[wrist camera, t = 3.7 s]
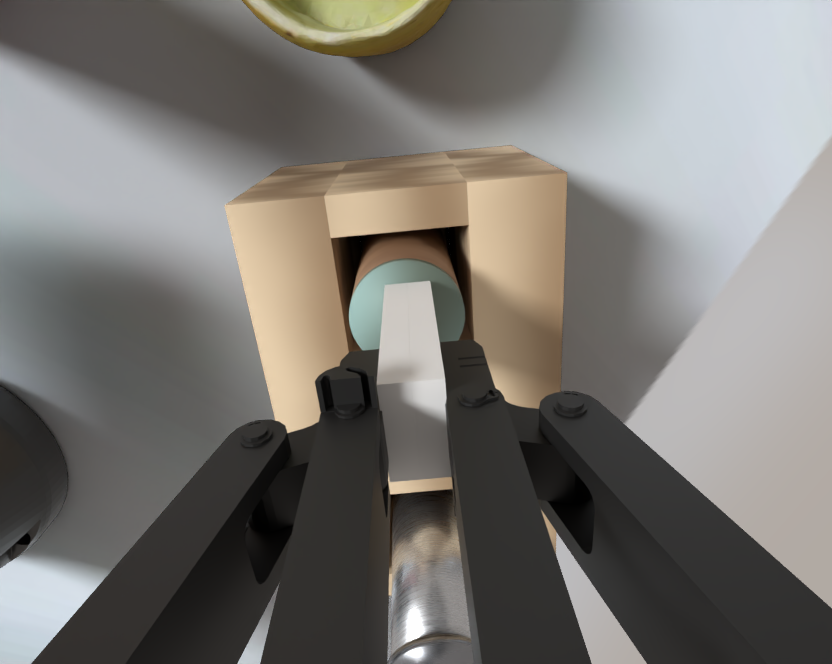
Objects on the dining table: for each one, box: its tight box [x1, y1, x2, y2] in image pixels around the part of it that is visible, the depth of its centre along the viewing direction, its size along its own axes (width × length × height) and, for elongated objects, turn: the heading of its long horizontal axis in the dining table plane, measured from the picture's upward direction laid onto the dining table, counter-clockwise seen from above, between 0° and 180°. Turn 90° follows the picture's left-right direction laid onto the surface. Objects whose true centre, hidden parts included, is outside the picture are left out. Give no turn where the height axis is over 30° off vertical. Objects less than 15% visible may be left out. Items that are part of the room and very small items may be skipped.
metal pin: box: [387, 489, 474, 664], centre depth 23 cm, size 4×4×9 cm
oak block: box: [224, 145, 567, 596], centre depth 27 cm, size 12×20×10 cm, turn 5°
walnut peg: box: [349, 228, 465, 350], centre depth 22 cm, size 4×4×9 cm
